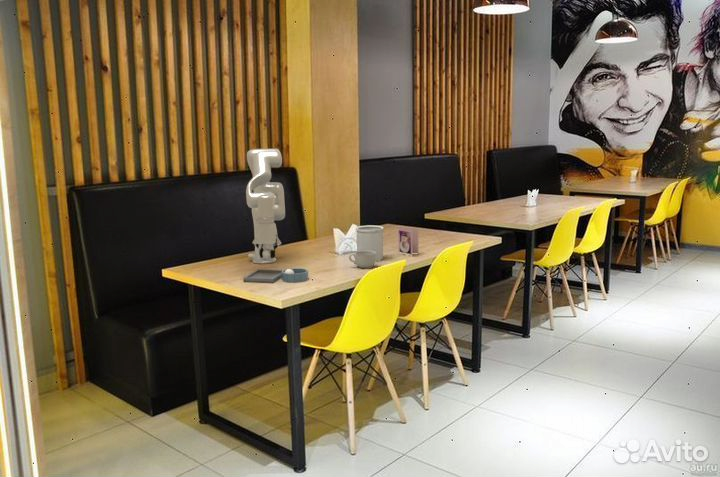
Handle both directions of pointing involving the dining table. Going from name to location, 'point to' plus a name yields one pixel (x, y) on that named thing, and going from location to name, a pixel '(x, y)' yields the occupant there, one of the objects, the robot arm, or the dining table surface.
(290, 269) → the pebble
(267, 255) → the pebble
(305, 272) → the bowl
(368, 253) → the teacup
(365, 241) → the utensil holder
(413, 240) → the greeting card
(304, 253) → the dining table surface
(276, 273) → the parts tray
